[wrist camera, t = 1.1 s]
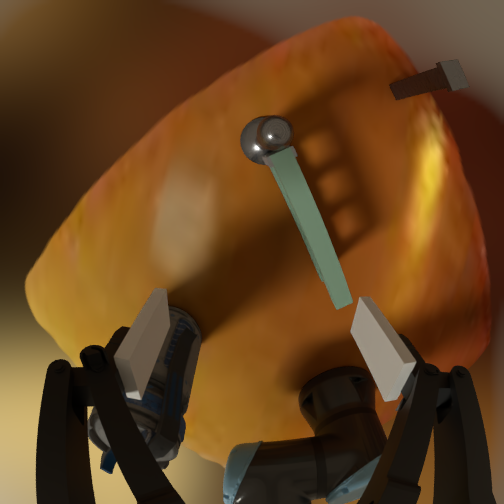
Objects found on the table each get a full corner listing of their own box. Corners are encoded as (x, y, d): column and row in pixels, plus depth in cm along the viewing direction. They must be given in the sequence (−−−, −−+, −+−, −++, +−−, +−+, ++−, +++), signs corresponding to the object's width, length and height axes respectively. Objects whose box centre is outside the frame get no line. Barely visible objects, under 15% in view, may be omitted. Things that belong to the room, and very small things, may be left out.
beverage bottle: (227, 324, 41) (212, 478, 17) (173, 363, 44) (138, 490, 20) (178, 279, 38) (110, 426, 15) (128, 325, 41) (63, 448, 18)
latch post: (411, 98, 29) (469, 86, 17) (395, 103, 30) (452, 91, 18) (402, 78, 28) (457, 59, 16) (385, 83, 29) (439, 61, 17)
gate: (261, 156, 32) (266, 157, 23) (281, 147, 31) (293, 145, 23) (316, 276, 37) (334, 311, 29) (333, 268, 37) (355, 301, 28)
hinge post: (297, 152, 32) (331, 152, 19) (253, 172, 33) (257, 185, 20) (276, 110, 30) (295, 80, 17) (232, 130, 31) (220, 113, 18)
